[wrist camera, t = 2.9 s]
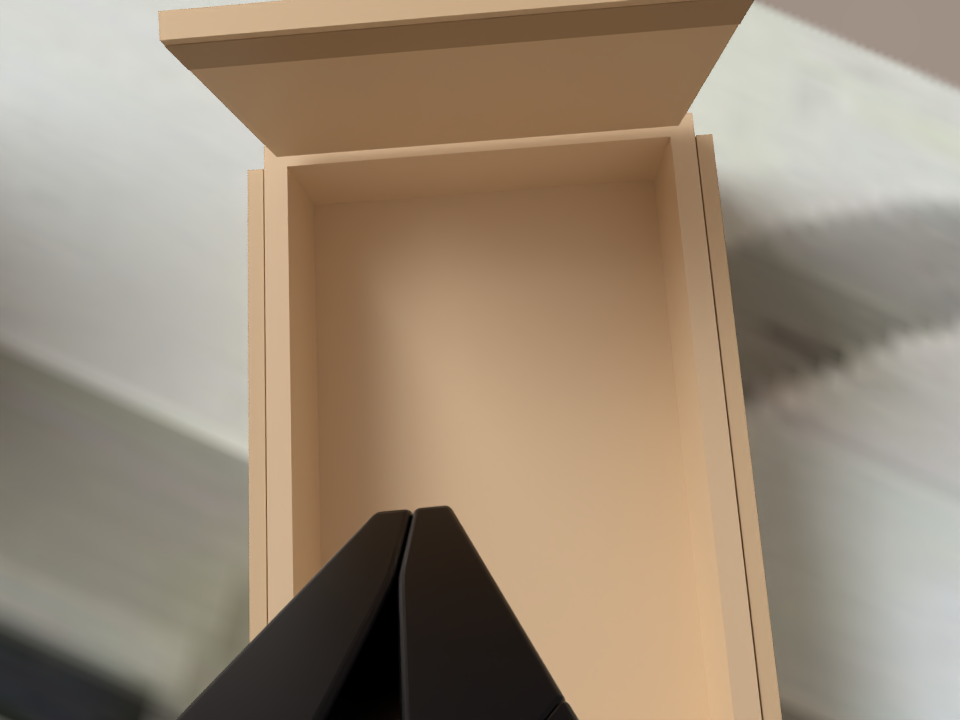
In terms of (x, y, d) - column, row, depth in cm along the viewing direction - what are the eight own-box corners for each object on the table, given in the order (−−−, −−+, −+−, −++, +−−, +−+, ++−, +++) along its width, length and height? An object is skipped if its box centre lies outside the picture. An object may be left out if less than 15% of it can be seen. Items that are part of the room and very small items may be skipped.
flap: (678, 126, 20) (759, -10, 13) (276, 158, 20) (159, 41, 14) (677, 104, 20) (757, -43, 13) (275, 136, 20) (157, 10, 14)
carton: (765, 860, 20) (806, 920, 17) (289, 879, 21) (250, 940, 18) (686, 161, 24) (710, 111, 21) (280, 192, 24) (246, 147, 21)
